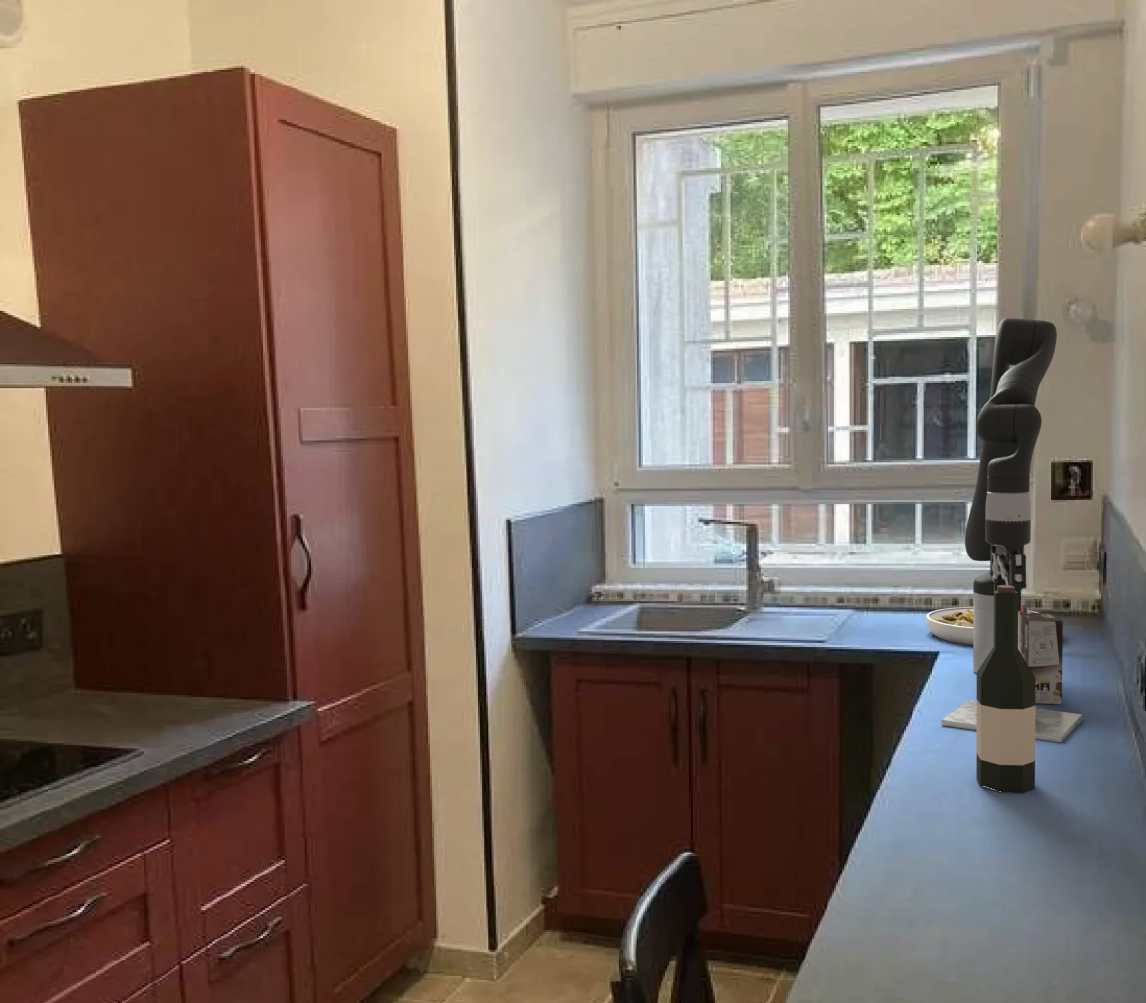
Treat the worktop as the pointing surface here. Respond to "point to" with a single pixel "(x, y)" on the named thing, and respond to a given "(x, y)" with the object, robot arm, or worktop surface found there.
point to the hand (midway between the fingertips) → (1007, 606)
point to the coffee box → (1043, 653)
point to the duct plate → (1046, 721)
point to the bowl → (955, 624)
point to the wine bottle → (1006, 705)
